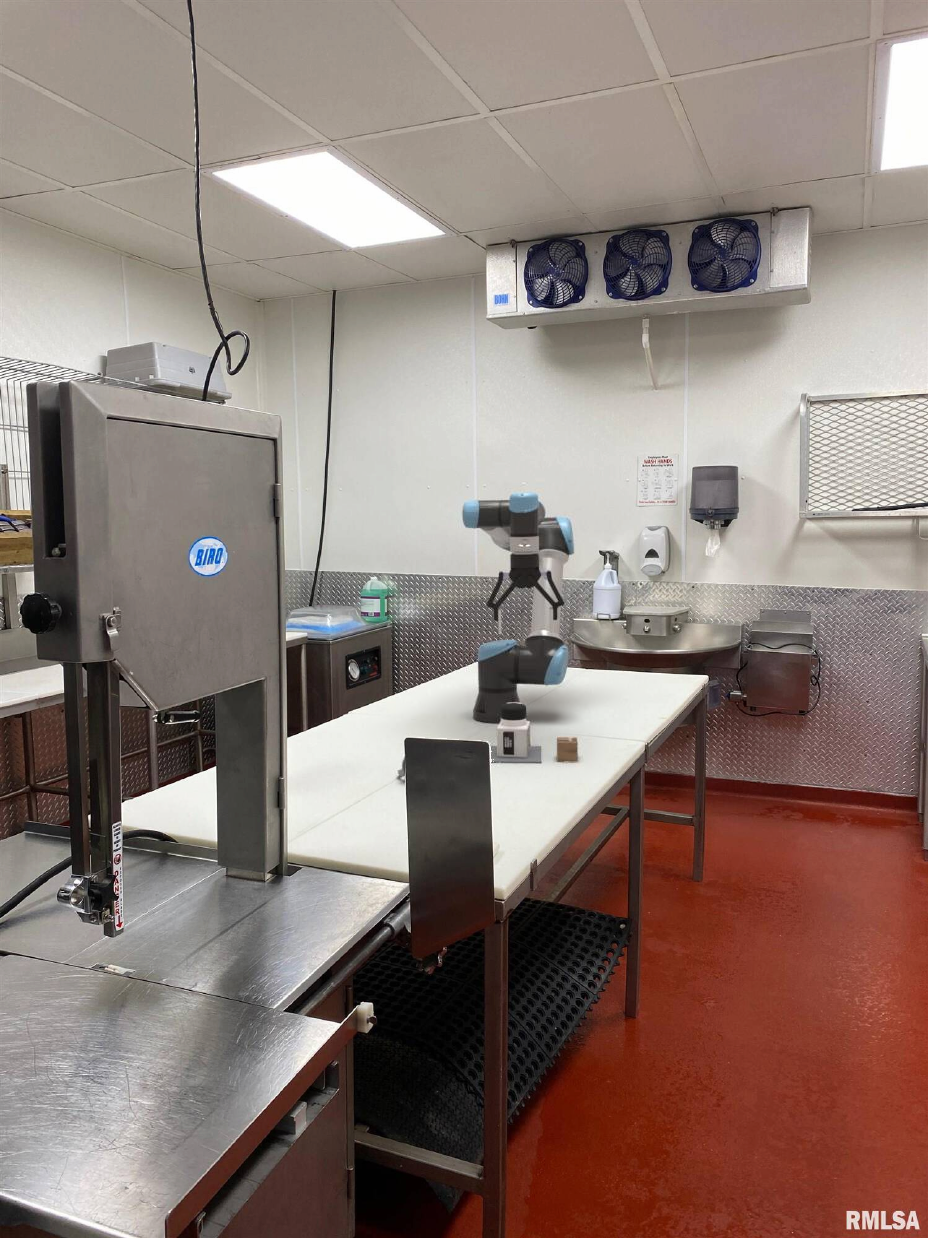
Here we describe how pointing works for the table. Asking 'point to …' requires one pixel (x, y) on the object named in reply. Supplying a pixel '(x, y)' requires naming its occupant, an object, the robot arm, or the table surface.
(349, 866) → the table surface
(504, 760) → the rubber mat
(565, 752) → the letter cube
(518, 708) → the container
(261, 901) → the table surface
